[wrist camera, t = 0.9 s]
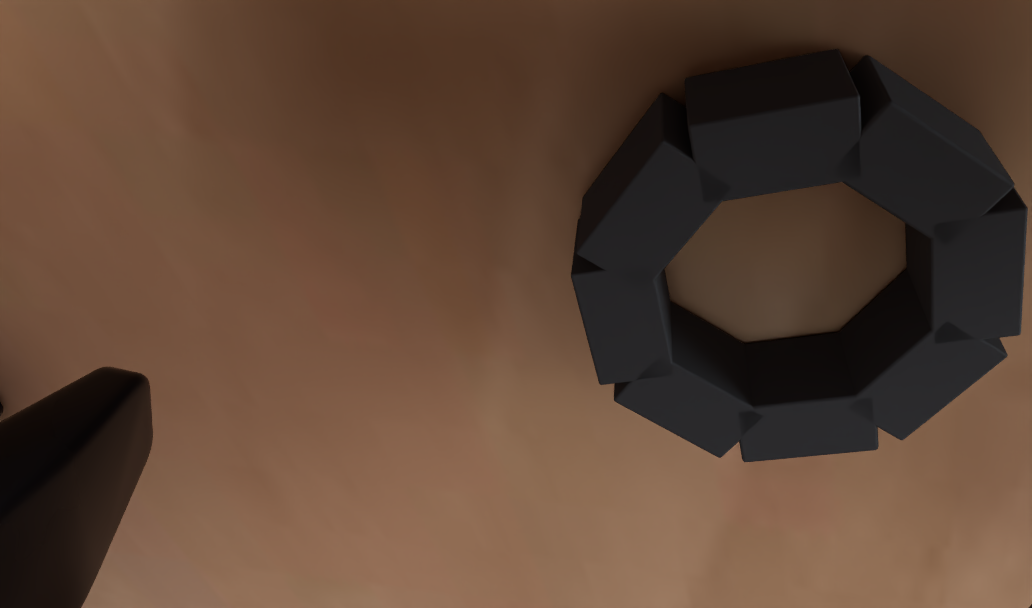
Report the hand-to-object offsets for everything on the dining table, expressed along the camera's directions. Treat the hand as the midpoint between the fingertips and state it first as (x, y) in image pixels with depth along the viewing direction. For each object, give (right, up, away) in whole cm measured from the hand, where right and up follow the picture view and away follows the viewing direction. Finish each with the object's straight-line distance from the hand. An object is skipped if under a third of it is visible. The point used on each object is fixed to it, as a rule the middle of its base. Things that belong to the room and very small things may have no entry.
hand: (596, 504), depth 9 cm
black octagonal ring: (+5, +3, +13) cm, 15 cm away
